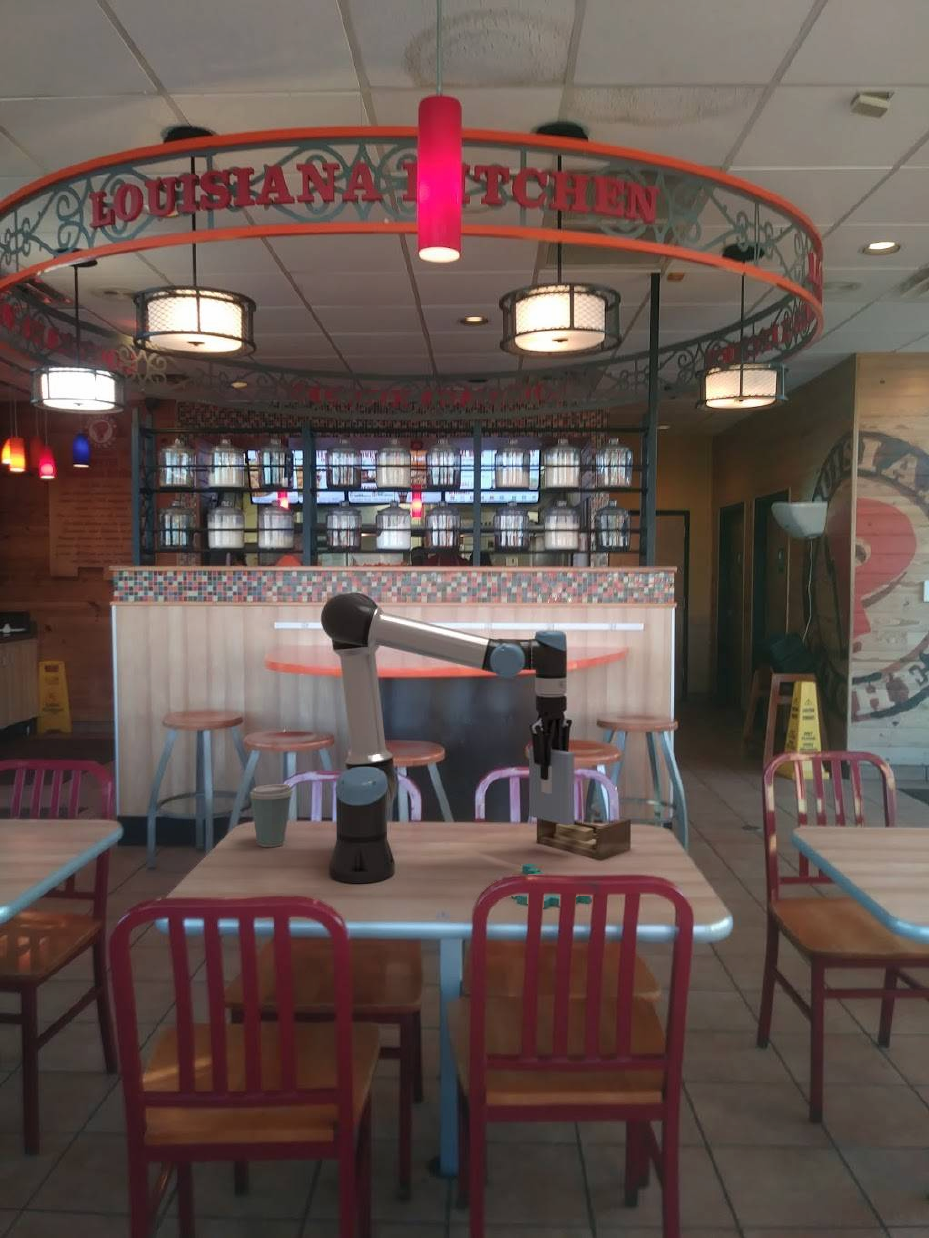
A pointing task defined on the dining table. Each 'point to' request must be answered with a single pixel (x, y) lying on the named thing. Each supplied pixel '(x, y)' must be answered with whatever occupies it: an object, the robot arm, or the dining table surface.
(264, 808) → the disposable coffee cup
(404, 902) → the dining table surface
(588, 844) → the offcut
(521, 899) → the alien figure
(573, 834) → the offcut
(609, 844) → the rack
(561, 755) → the grey rectangular panel
